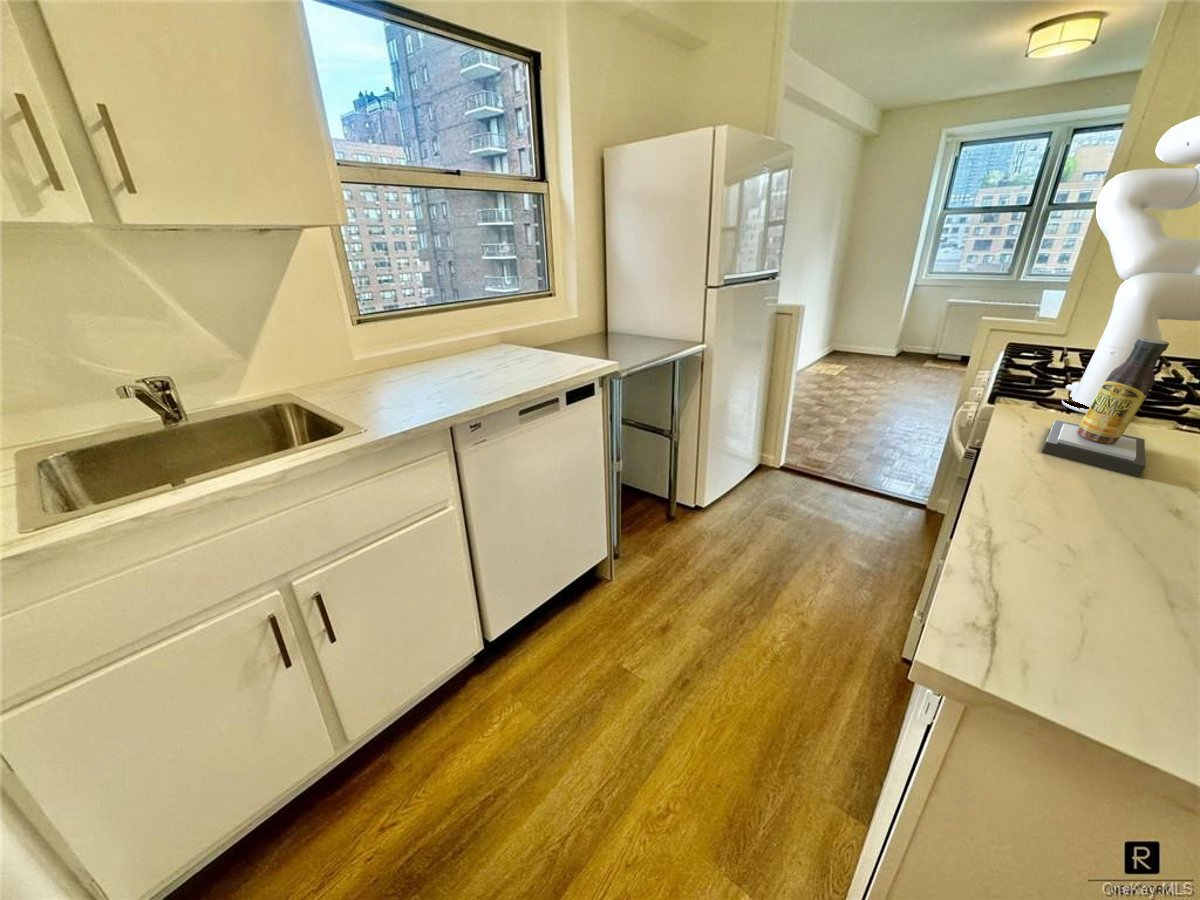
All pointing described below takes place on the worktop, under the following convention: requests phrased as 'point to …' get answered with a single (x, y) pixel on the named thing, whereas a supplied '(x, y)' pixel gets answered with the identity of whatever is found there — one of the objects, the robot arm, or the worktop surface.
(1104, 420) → the sauce bottle
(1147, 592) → the worktop surface
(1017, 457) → the worktop surface
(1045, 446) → the scale
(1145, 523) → the worktop surface
